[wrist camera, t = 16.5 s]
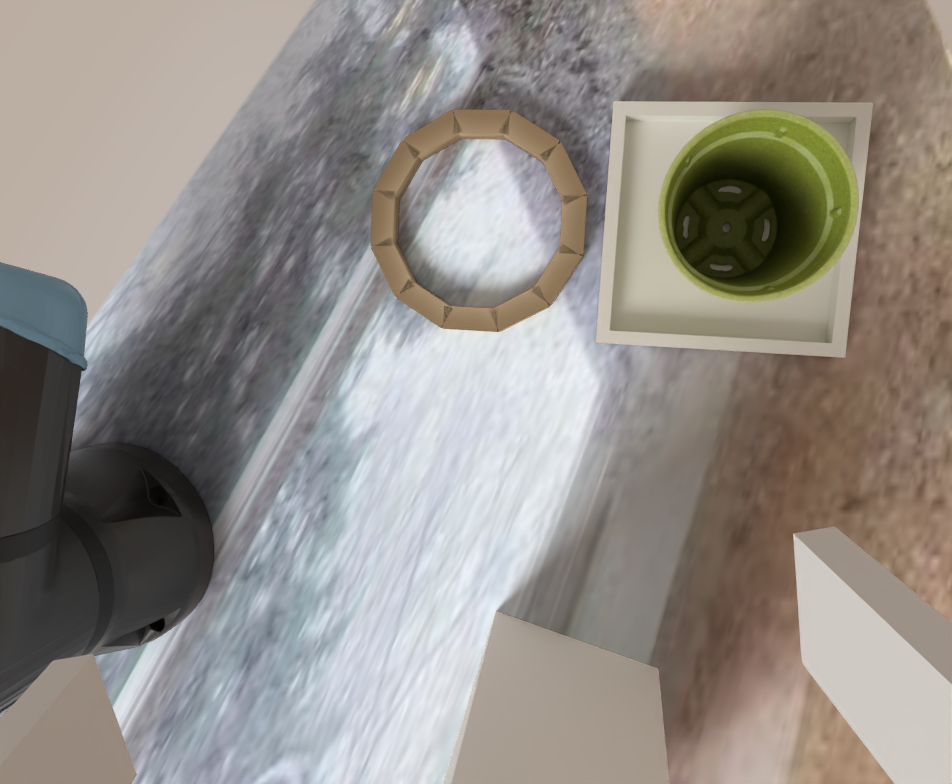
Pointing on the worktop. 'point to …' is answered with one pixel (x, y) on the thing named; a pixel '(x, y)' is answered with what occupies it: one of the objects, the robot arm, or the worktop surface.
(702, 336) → the grey tray
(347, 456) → the worktop surface
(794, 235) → the plant pot
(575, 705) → the milk
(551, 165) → the oak ring
